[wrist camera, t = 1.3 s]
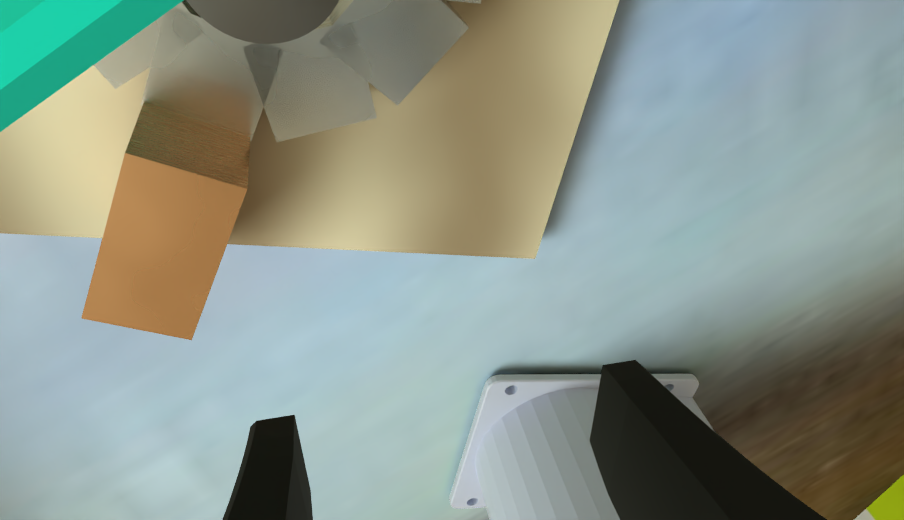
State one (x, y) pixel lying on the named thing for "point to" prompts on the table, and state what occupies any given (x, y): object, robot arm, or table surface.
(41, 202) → the board
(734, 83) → the table surface
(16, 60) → the table top decor
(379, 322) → the table surface
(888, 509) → the puzzle toy
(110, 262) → the flange
